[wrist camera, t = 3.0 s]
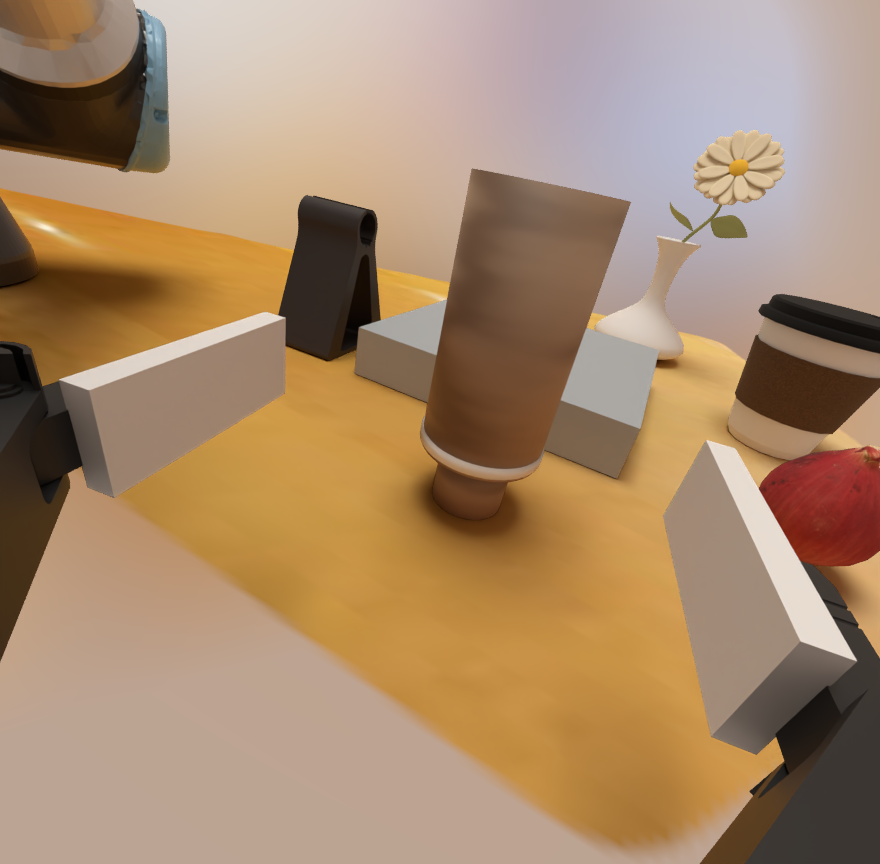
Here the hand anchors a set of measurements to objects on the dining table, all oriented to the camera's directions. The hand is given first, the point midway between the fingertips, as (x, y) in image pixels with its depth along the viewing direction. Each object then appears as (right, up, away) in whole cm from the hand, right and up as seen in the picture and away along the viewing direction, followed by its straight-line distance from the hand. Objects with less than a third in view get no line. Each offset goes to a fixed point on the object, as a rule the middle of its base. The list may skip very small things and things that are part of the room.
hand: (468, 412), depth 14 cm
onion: (+19, -8, +13) cm, 24 cm away
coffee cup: (+29, -2, +27) cm, 40 cm away
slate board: (+7, +4, +29) cm, 30 cm away
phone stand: (-11, +8, +29) cm, 32 cm away
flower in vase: (+25, +10, +45) cm, 53 cm away
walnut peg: (+1, -4, +12) cm, 13 cm away
